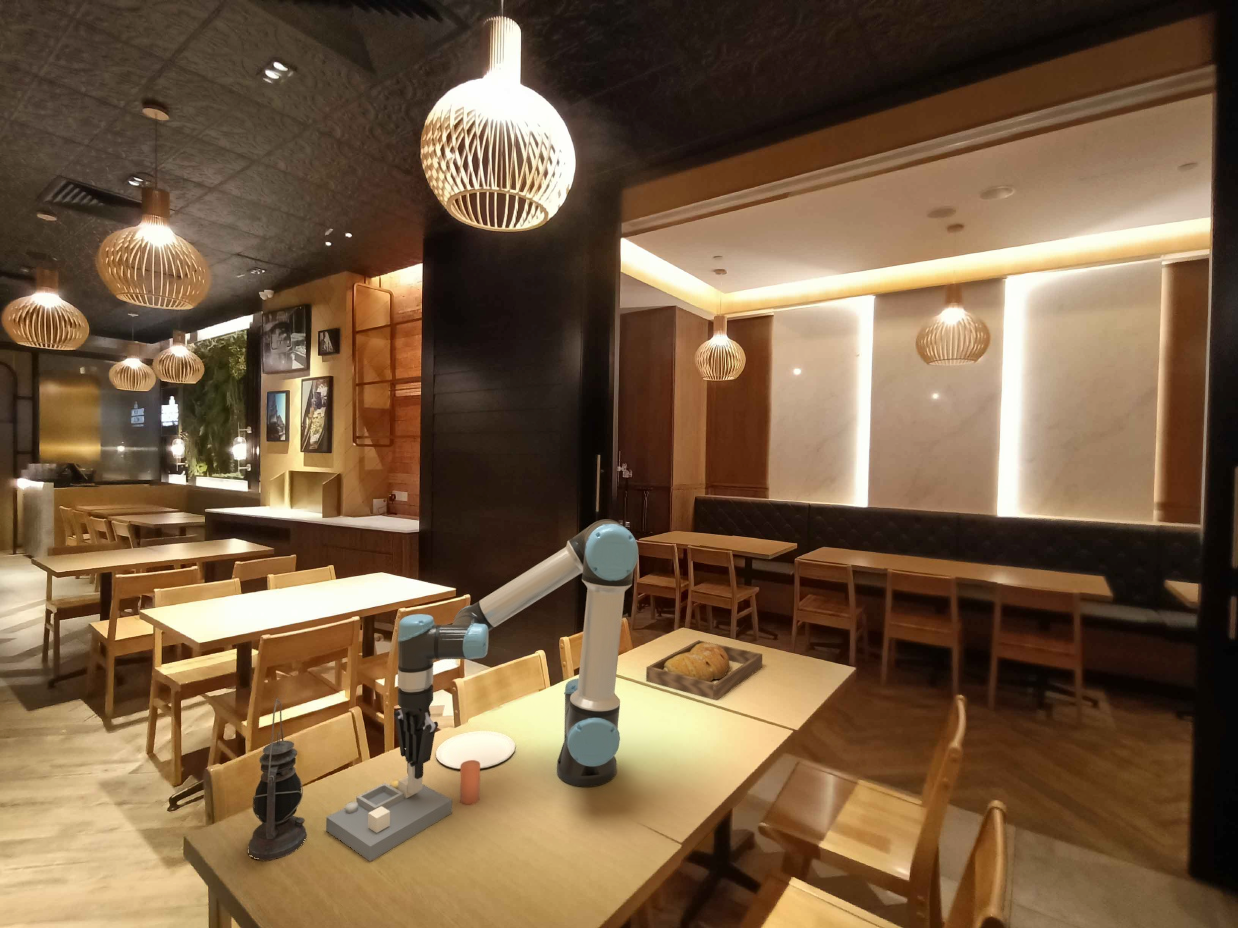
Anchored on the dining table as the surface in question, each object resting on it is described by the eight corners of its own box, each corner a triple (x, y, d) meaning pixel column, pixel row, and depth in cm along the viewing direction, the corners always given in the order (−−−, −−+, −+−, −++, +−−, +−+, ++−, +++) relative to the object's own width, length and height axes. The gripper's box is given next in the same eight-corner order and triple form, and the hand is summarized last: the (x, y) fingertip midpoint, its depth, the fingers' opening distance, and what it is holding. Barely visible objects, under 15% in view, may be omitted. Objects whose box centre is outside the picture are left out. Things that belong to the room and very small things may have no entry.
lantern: (299, 858, 119) (300, 707, 118) (238, 868, 116) (239, 713, 115) (312, 821, 131) (313, 683, 130) (257, 829, 128) (257, 688, 127)
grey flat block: (452, 812, 135) (452, 792, 135) (370, 861, 118) (370, 838, 118) (407, 788, 144) (408, 770, 144) (326, 830, 127) (326, 809, 127)
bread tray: (762, 666, 231) (762, 653, 231) (716, 700, 199) (716, 685, 199) (698, 652, 247) (698, 640, 247) (646, 681, 214) (646, 667, 214)
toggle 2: (417, 792, 137) (417, 779, 137) (406, 798, 134) (406, 784, 134) (409, 787, 139) (409, 774, 139) (398, 793, 136) (398, 780, 136)
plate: (445, 780, 148) (445, 775, 148) (428, 743, 167) (428, 739, 167) (525, 761, 158) (526, 756, 158) (502, 729, 176) (502, 724, 176)
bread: (703, 692, 206) (703, 663, 205) (654, 678, 218) (655, 651, 217) (744, 667, 231) (745, 641, 231) (699, 655, 243) (699, 631, 243)
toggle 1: (389, 825, 125) (389, 811, 125) (376, 832, 122) (376, 818, 122) (381, 820, 126) (381, 805, 126) (368, 827, 124) (368, 812, 124)
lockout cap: (483, 797, 141) (484, 763, 140) (468, 806, 137) (469, 771, 137) (470, 791, 143) (471, 758, 143) (456, 800, 140) (456, 765, 139)
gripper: (448, 687, 134) (447, 792, 134) (412, 674, 142) (411, 773, 142) (419, 698, 128) (419, 808, 128) (383, 684, 135) (383, 788, 136)
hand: (415, 790), depth 135 cm, fingers closed
